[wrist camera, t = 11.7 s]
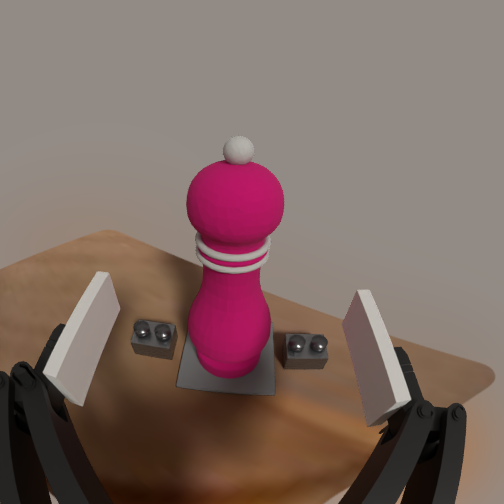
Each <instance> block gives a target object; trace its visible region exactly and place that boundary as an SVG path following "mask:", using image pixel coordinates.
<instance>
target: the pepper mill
mask: <svg viewBox="0 0 504 504" xmlns="http://www.w3.org/2000/svg"><path fill="white" fill-rule="evenodd" d="M223 155H224V157H225V160H223V161H218V162H215V163H213V164H211V165H209V166H207V167H205V168H203V169H202V170H201V171H200V172H198V174H197V175H196V176H195V178H194V179H193V180H192V182H191V184H190V187H189V190H188V194H187V202H186V206H187V214H188V218H189V220H190V222H191V224H192V225H193V227H194V228H195V229H196V230H197V231H198V232H197V234H196V238H195V241H196V244H197V246H196V255H197V257H198V259H199V260H200V261H201V262H202V263H203V281H202V285H201V288H200V290H199V292H198V294H197V296H196V298H195V300H194V301H193V303H192V306H191V309H190V312H189V317H188V331H189V335H190V339H191V341H192V343H193V344H194V346H195V347H196V350H197V357H198V360H199V362H200V364H201V365H202V367H203V368H204V369H205V370H206V371H208V372H209V373H211V374H213V375H214V376H217V377H220V378H228V379H233V378H238V377H242V376H244V375H246V374H248V373H250V372H251V371H252V370H253V369H254V368H255V367H256V366H257V364H258V362H259V359H260V354H261V351H262V349H263V348H264V347H265V346H266V344H267V342H268V340H269V337H270V330H271V317H270V312H269V308H268V305H267V303H266V301H265V298H264V296H263V293H262V290H261V286H260V268H261V266H262V265H264V264H265V263H266V261H267V260H268V258H269V253H270V252H269V248H270V245H271V237H270V234H271V233H272V232H273V231H274V230H275V229H276V228H277V226H278V225H279V224H280V222H281V219H282V216H283V211H284V195H283V190H282V188H281V185H280V183H279V181H278V180H277V178H276V177H275V176H274V175H273V174H272V173H271V172H270V171H269V170H268V169H267V168H265V167H263V166H261V165H259V164H256V163H254V162H250V161H251V160H252V158H253V156H254V147H253V145H252V143H251V141H249V140H248V139H247V138H245V137H242V136H236V137H232V138H231V139H229V140H228V141H227V142H226V143H225V145H224V148H223Z"/></svg>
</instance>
